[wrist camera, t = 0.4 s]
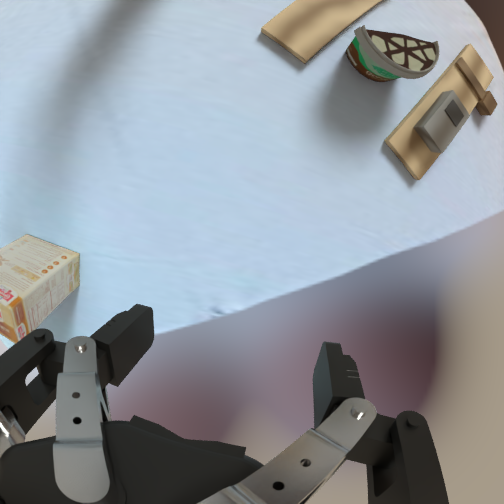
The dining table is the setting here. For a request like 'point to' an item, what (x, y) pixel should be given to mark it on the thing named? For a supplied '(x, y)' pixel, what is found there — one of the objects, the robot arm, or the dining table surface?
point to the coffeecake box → (33, 283)
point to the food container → (391, 55)
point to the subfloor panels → (430, 105)
